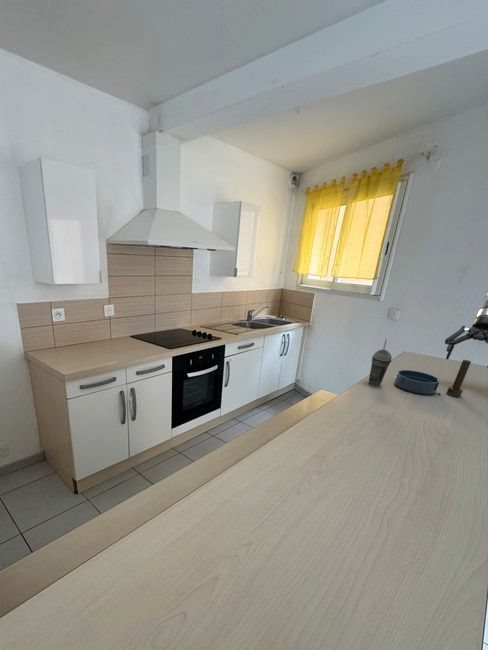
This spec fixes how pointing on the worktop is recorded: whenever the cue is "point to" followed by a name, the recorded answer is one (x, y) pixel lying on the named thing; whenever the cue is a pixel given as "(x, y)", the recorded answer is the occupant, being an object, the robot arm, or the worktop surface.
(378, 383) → the beverage cup
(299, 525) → the worktop surface
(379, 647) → the worktop surface
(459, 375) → the rusty bolt
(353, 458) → the worktop surface
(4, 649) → the worktop surface
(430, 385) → the bowl
